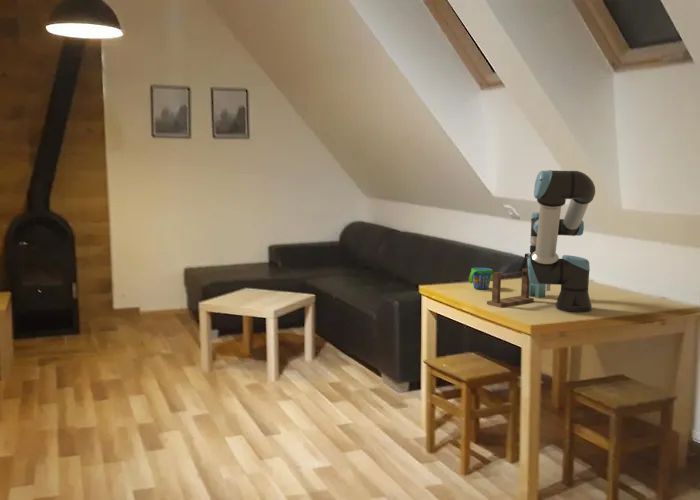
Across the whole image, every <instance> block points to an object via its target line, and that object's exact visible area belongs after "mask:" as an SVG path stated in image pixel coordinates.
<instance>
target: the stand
mask: <svg viewBox="0 0 700 500" xmlns="http://www.w3.org/2000/svg"><path fill="white" fill-rule="evenodd" d="M515 277H517V278H518V277H521V289H520V290H521V291H520V295H517V296H511V297H505V298H501V288H502V287H501V285H502V279H510V278H515ZM529 285H530V281H529V275H528V269H526V268H524V269H522V272H521V271H516V272H507V273H502V272H498V271H495V272H494V271H493V281H492V290H491V292H492V293H491V295H492V296H491V300H487V301H486V305H487V304H488V306H493V307H496V308H505V307H511V306H517V305H522V304H529V303H534V301H535V297H534V298H533V297H530V296H529Z"/></svg>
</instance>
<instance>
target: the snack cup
mask: <svg viewBox="0 0 700 500" xmlns="http://www.w3.org/2000/svg"><path fill="white" fill-rule="evenodd" d="M470 270H471V272H470V274H469V277H468V282H469V283H470V284H473V285H472V286H473V289H475V290H488V289H489V287H490V283H491V282H493V272H494V271H493V269H492V268H489V267H472V268H471V269H470Z"/></svg>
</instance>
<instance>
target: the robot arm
mask: <svg viewBox="0 0 700 500" xmlns="http://www.w3.org/2000/svg"><path fill="white" fill-rule="evenodd" d="M535 178H536V179H535V182H534V188H533V189H534V190H533V196H534V198H535V199H536V202H537V203H538V204H539V211H538V212H533V213H531V218H530V240H529V243H530V246H529V252H527V253H525V254H524V257H523V260H522V262H521V264H520V266H519V268H518V272H522V269H524V268H526V269H528V275H529V281H530V282H531V283H533V284H546V288H545V292H549V291H550V292H551V285H555V286H559V285H560V292H559V295H558V297H557V299H556V302H555V308H556V309H557V310H561V311H565V312H566V311H567V312H576V313H577V312H579V313H580V312H581V313H583V312H584V313H585V312H589V311H592V306H593V305H592V302H591V298H590V294H589V282H590V260H588V259H587V258H584V257H580V256H575V255H568V254H567V255H566V254H564V255H562V256H561V258H559V255H558V254H557V253H556V252H557V245H558V236H568V237H569V236H571V237H576V236H578V237H579V236H583V234H584V228H585V227H584V226H585V225H584V224H585V223H584V221H583V218H584V216H585V213H586V211H587V208H588V206H589V204H590V203H592V201H593V200H594V198H595V195H596V186H595V184H594V181H593V180H592V178H590V177H589V175H587V174H586V173H584V172H582V171H579V170H551V169H548V170H541V171H539V172H538V173H537V175H536V177H535ZM567 200H570V201H569V203H568V206H567V209H566V212H565V215H564V217H563V218H561V210H562V207H563V206H565V205H566V201H567Z"/></svg>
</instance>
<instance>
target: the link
mask: <svg viewBox="0 0 700 500" xmlns="http://www.w3.org/2000/svg"><path fill="white" fill-rule="evenodd" d="M545 288H546V284H533V283H531V282H530V285H529V297H534V298H536V299H541V298H546V291H545Z"/></svg>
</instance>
